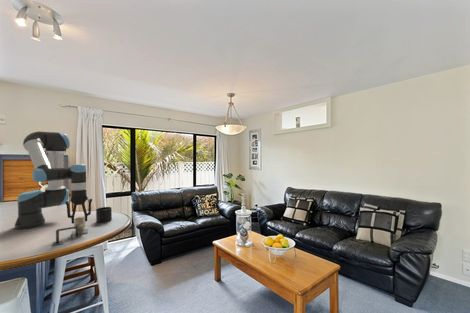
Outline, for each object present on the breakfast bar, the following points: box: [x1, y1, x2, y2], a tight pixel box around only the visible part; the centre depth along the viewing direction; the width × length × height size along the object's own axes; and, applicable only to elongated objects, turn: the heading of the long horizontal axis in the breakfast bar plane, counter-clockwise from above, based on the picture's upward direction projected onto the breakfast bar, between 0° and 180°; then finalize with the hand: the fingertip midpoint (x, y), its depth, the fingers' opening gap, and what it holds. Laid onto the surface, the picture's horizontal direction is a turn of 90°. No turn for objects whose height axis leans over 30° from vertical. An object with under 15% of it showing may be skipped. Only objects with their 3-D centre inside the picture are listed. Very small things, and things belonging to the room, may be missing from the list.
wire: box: [51, 224, 82, 247], centre depth 117 cm, size 10×12×8 cm
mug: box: [95, 206, 113, 224], centre depth 151 cm, size 9×12×9 cm
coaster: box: [70, 228, 89, 237], centre depth 129 cm, size 8×8×1 cm
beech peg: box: [74, 215, 85, 232], centre depth 128 cm, size 4×4×8 cm
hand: (79, 227), depth 128 cm, fingers closed on beech peg, 4 cm apart
